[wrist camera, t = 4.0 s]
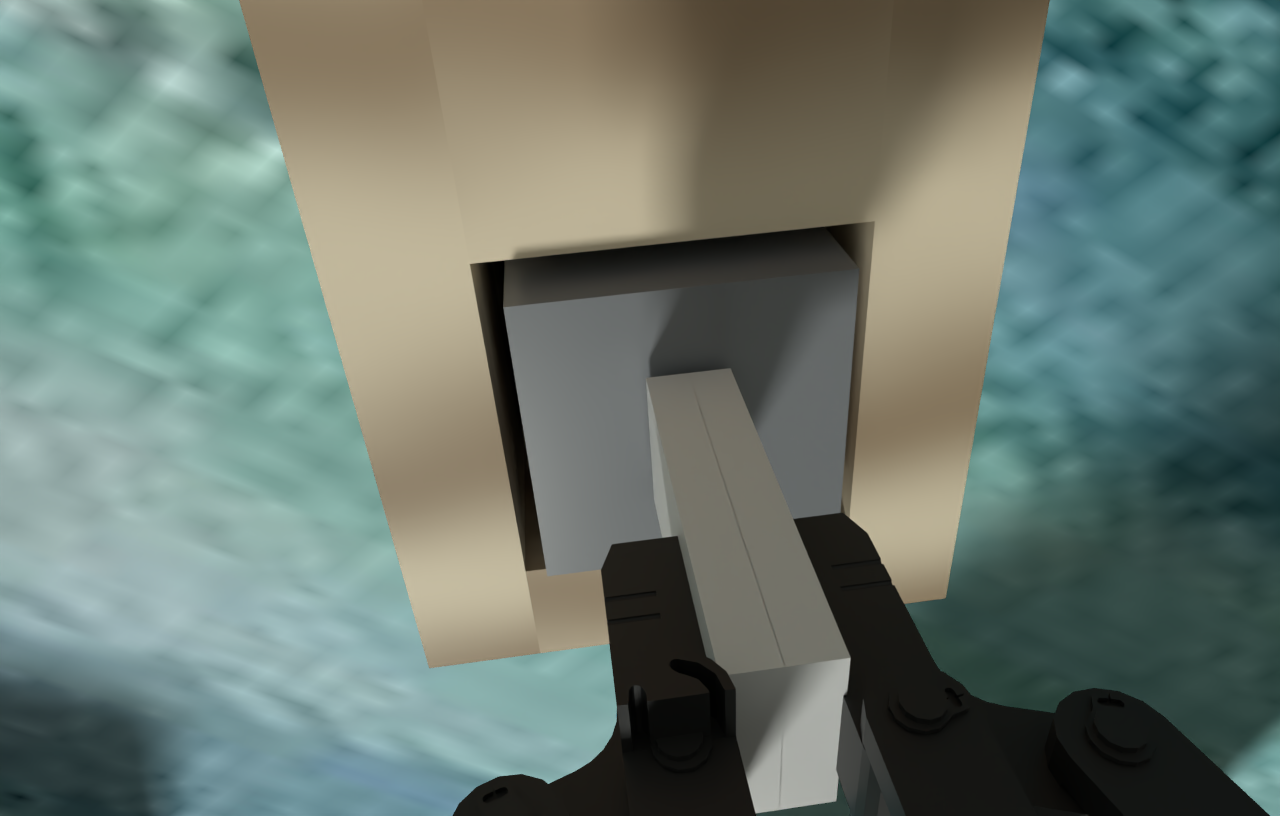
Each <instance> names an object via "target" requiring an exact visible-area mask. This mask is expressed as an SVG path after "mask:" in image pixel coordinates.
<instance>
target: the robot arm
mask: <svg viewBox="0 0 1280 816" xmlns="http://www.w3.org/2000/svg"><path fill="white" fill-rule="evenodd" d="M646 388H647V402H648V417H649V431H650V446H651V461H652V475H653V490H654V501H655V506H656V511H657V515H658V520H659V525H660V529H661V534H662V538H657V539H649V540H641V541H633V542H625V543H618V544H612V545H611V547H610V550H609V552H608V554H607V557H606V559H605V562H604V564H603V566H602V569H601V575H602V584H603V592H604V601H605V609H606V618H607V626H608V635H609V643H610V652H611V660H612V669H613V677H614V686H615V694H616V702H617V722H616V725H615V728H614V732H613V735H612V737H611V739H610V740H609V742H608V743H607V745H606V746H605V748H604V750H603V751H602V752H600V753H599V754H598V755H597V756H596V757H595V758H594V759H593V760H592V761H591V762H590V763H588V764H586V765H585V766H583V767H582V768H580V769H578V770H577V771H575V772H573V773H571V774H569V775H566V776H564V777H562V778H560V779H558V780H556V781H554V782H552V783H550V784H547V783H546V782H545V781H544V780H542V779H538V778H534V777H530V776H527V775H523V774H519V775H509V776H500V777H497V778H495V779H493V780H491V781H488V782H486V783H484V784H482V785H480V786H478V787H476V788H475V789H474V790H473V791H472V792H471V793H470V794H469V795H468V796H467V797H466V798H465V799H464V800H462V801H461V802H460V803H459V805H458V807H457V809H456V810H455V812H454V814H453V816H756V813H762V812H769V811H775V810H782V809H788V808H795V807H802V806H808V805H815V804H822V803H828V802H835V801H836V798H837V788H838V778H839V780H840V783H841V786H842V788H843V791H844V794H845V797H846V800H847V803H848V806H849V808H850V816H1270V815H1269V814H1268V813H1266V812H1265V811H1264V810H1263V809H1262V808H1261V807H1260V806H1259V805H1258V804H1257V803H1256V802H1255V801H1254V800H1253V799H1252V798H1250V797H1249V796H1248V795H1247V794H1246V793H1245V792H1244V791H1243V790H1242V789H1241V788H1240V787H1239V786H1238V785H1237V784H1235V783H1234V782H1233V781H1232V780H1231V779H1230V778H1229V777H1228V776H1227V775H1226V774H1225V773H1224V772H1223V771H1222V770H1221V769H1219V768H1218V767H1217V766H1216V765H1215V764H1214V763H1213V762H1212V761H1211V760H1210V759H1209V758H1208V757H1207V756H1206V755H1204V754H1203V753H1202V752H1201V751H1200V750H1199V749H1198V748H1197V747H1196V746H1195V745H1194V744H1193V743H1192V742H1191V741H1190V740H1188V739H1187V738H1186V737H1185V736H1184V735H1183V734H1182V733H1181V732H1180V731H1179V730H1178V729H1177V728H1176V727H1175V726H1173V725H1172V724H1171V723H1170V722H1169V721H1168V720H1167V719H1166V718H1165V717H1164V716H1162V715H1161V714H1160V713H1158V712H1157V711H1155V710H1154V709H1153V708H1151V707H1150V706H1149V705H1147V704H1146V703H1144V702H1143V701H1141V700H1138V699H1136V698H1133V697H1131V696H1129V695H1126V694H1124V693H1121V692H1119V691H1112V690H1105V689H1097V688H1092V689H1086V690H1081V691H1076V692H1073V693H1071V694H1070V695H1069V696H1067V697H1066V698H1065V699H1063V700H1062V701H1060V702H1059V705H1058V707H1057V710H1056V713H1050V712H1043V711H1035V710H1028V709H1021V708H1014V707H1007V706H1002V705H998V704H993V703H989V702H986V701H984V700H981V699H979V698H976V697H974V696H972V695H970V693H969V692H968V691H967V690H966V688H965V687H964V686H963V685H962V684H961V683H959V682H958V681H956V680H955V679H953V678H952V677H950V676H949V675H947V674H946V673H944V672H941V671H940V669H939V668H938V667H937V665H936V664H935V662H934V661H933V659H932V657H931V655H930V653H929V651H928V649H927V647H926V645H925V643H924V641H923V639H922V637H921V636H920V634H919V632H918V630H917V628H916V626H915V624H914V622H913V620H912V618H911V616H910V614H909V612H908V610H907V608H906V606H905V605H904V603H903V601H902V599H901V597H900V595H899V593H898V591H897V589H896V587H895V585H892V579H891V577H890V575H889V573H888V572H887V570H886V568H885V566H884V564H882V563H881V558H880V556H879V554H878V552H877V550H876V548H875V546H874V544H873V542H872V541H871V539H870V537H869V535H868V533H867V532H866V531H864V530H863V529H862V528H861V527H860V526H858V525H857V524H856V523H855V522H854V521H852V520H851V519H850V518H849V517H848V516H846V515H845V514H844V513H835V514H827V515H819V516H812V517H804V518H796V519H793V518H792V515H791V513H790V510H789V508H788V506H787V503H786V501H785V498H784V496H783V494H782V491H781V489H780V486H779V484H778V481H777V479H776V477H775V474H774V472H773V469H772V467H771V465H770V462H769V460H768V457H767V455H766V453H765V450H764V448H763V445H762V443H761V441H760V438H759V436H758V433H757V431H756V428H755V426H754V424H753V421H752V419H751V416H750V414H749V412H748V409H747V407H746V404H745V402H744V400H743V397H742V395H741V392H740V390H739V388H738V385H737V383H736V380H735V378H734V375H733V373H732V371H731V368H727V369H719V370H710V371H701V372H693V373H684V374H676V375H667V376H658V377H650V378H646Z"/></svg>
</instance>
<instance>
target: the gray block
mask: <svg viewBox="0 0 1280 816" xmlns="http://www.w3.org/2000/svg"><path fill="white" fill-rule="evenodd" d="M858 280H859V267H858V266H857V265H856V264H855V263H854V261H853V260H852V259H851V258H850V257H849V255H848V254H847V253H846V252H845V251H844V249H843V248H842V247H841V246H840V245H839V243H838V242H837V241H836V240H835V239H834V237H833V236H832V235H831V234H830V233H829V231H828V230H827V229H826V228H825V227H815V228H806V229H796V230H787V231H777V232H768V233H758V234H749V235H739V236H730V237H720V238H711V239H701V240H692V241H682V242H673V243H663V244H654V245H644V246H635V247H625V248H616V249H606V250H597V251H587V252H578V253H569V254H559V255H550V256H540V257H531V258H521V259H512V260H505V269H504V301H503V309H504V315H505V321H506V327H507V333H508V339H509V345H510V351H511V357H512V364H513V370H514V376H515V382H516V388H517V394H518V400H519V406H520V413H521V419H522V425H523V431H524V437H525V443H526V449H527V455H528V461H529V468H530V474H531V480H532V486H533V492H534V498H535V504H536V510H537V516H538V523H539V529H540V535H541V541H542V547H543V553H544V559H545V565H546V571H547V576H554V575H562V574H570V573H578V572H585V571H593V570H601V569H602V566H603V564H604V562H605V559H606V557H607V554H608V552H609V550H610V547H611V545H612V544H618V543H625V542H633V541H641V540H649V539H657V538H662V534H661V529H660V525H659V520H658V515H657V511H656V506H655V501H654V490H653V475H652V461H651V446H650V431H649V417H648V402H647V388H646V378H650V377H658V376H667V375H676V374H684V373H693V372H701V371H710V370H719V369H727V368H731V371H732V373H733V375H734V378H735V380H736V383H737V385H738V388H739V390H740V392H741V395H742V397H743V400H744V402H745V404H746V407H747V409H748V412H749V414H750V416H751V419H752V421H753V424H754V426H755V428H756V431H757V433H758V436H759V438H760V441H761V443H762V445H763V448H764V450H765V453H766V455H767V457H768V460H769V462H770V465H771V467H772V469H773V472H774V474H775V477H776V479H777V481H778V484H779V486H780V489H781V491H782V494H783V496H784V498H785V501H786V503H787V506H788V508H789V510H790V513H791V515H792V518H793V519H796V518H804V517H812V516H819V515H827V514H835V513H840V511H841V498H842V485H843V473H844V460H845V447H846V434H847V421H848V409H849V396H850V383H851V370H852V357H853V344H854V332H855V319H856V306H857V293H858Z"/></svg>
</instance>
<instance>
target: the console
mask: <svg viewBox="0 0 1280 816" xmlns="http://www.w3.org/2000/svg"><path fill="white" fill-rule="evenodd" d="M239 1H240V5H241V8H242V12H243V15H244V19H245V22H246V26H247V29H248V33H249V36H250V40H251V43H252V47H253V50H254V54H255V57H256V61H257V64H258V68H259V71H260V75H261V78H262V82H263V85H264V89H265V92H266V96H267V100H268V103H269V107H270V110H271V114H272V117H273V121H274V124H275V128H276V131H277V135H278V138H279V142H280V145H281V149H282V152H283V156H284V159H285V163H286V166H287V170H288V173H289V177H290V180H291V184H292V187H293V191H294V194H295V198H296V201H297V205H298V208H299V212H300V215H301V219H302V223H303V226H304V230H305V233H306V237H307V240H308V244H309V247H310V251H311V254H312V258H313V261H314V265H315V268H316V272H317V275H318V279H319V282H320V286H321V289H322V293H323V296H324V300H325V303H326V307H327V310H328V314H329V317H330V321H331V324H332V328H333V331H334V335H335V338H336V342H337V346H338V349H339V353H340V356H341V360H342V363H343V367H344V370H345V374H346V377H347V381H348V384H349V388H350V391H351V395H352V398H353V402H354V405H355V409H356V412H357V416H358V419H359V423H360V426H361V430H362V433H363V437H364V440H365V444H366V447H367V451H368V454H369V458H370V461H371V465H372V469H373V472H374V476H375V479H376V483H377V486H378V490H379V493H380V497H381V500H382V504H383V507H384V511H385V514H386V518H387V521H388V525H389V528H390V532H391V535H392V539H393V542H394V546H395V549H396V553H397V556H398V560H399V563H400V567H401V570H402V574H403V577H404V581H405V585H406V588H407V592H408V595H409V599H410V602H411V606H412V609H413V613H414V616H415V620H416V623H417V627H418V630H419V634H420V637H421V641H422V644H423V648H424V651H425V655H426V658H427V662H428V665H429V668H434V667H441V666H449V665H456V664H464V663H471V662H478V661H486V660H493V659H500V658H508V657H515V656H523V655H530V654H537V653H545V652H552V651H560V650H567V649H574V648H582V647H589V646H597V645H604V644H610V643H609V635H608V626H607V618H606V609H605V601H604V592H603V584H602V575H601V570H593V571H585V572H578V573H570V574H562V575H554V576H547V571H546V565H545V559H544V553H543V547H542V541H541V535H540V529H539V523H538V516H537V510H536V504H535V498H534V492H533V486H532V480H531V474H530V468H529V461H528V455H527V449H526V443H525V437H524V431H523V425H522V419H521V413H520V406H519V400H518V394H517V388H516V382H515V376H514V370H513V364H512V357H511V351H510V345H509V339H508V333H507V327H506V321H505V315H504V309H503V301H504V269H505V261H504V260H512V259H521V258H531V257H540V256H550V255H559V254H569V253H578V252H587V251H597V250H606V249H616V248H625V247H635V246H644V245H654V244H663V243H673V242H682V241H692V240H701V239H711V238H720V237H730V236H739V235H749V234H758V233H768V232H777V231H787V230H796V229H806V228H815V227H825V228H826V229H827V230H828V231H829V233H830V234H831V235H832V236H833V237H834V239H835V240H836V241H837V242H838V243H839V245H840V246H841V247H842V248H843V249H844V251H845V252H846V253H847V254H848V255H849V257H850V258H851V259H852V260H853V261H854V263H855V264H856V265H857V266H858V267H859V280H858V293H857V306H856V319H855V332H854V344H853V357H852V370H851V383H850V396H849V409H848V421H847V434H846V447H845V460H844V473H843V485H842V498H841V511H840V513H844V514H845V515H846V516H848V517H849V518H850V519H851V520H852V521H854V522H855V523H856V524H857V525H858V526H860V527H861V528H862V529H863V530H864V531H866V532H867V533H868V535H869V537H870V539H871V541H872V542H873V544H874V546H875V548H876V550H877V552H878V554H879V556H880V558H881V563H882V564H884V566H885V568H886V570H887V572H888V573H889V575H890V577H891V579H892V585H895V587H896V589H897V591H898V593H899V595H900V597H901V599H902V601H903V603H904V604H907V603H914V602H922V601H929V600H936V599H944V598H946V594H947V588H948V582H949V576H950V571H951V565H952V559H953V553H954V548H955V542H956V536H957V530H958V525H959V519H960V513H961V507H962V502H963V496H964V490H965V484H966V479H967V473H968V467H969V461H970V455H971V450H972V444H973V438H974V432H975V427H976V421H977V415H978V409H979V404H980V398H981V392H982V386H983V381H984V375H985V369H986V363H987V358H988V352H989V346H990V340H991V335H992V329H993V323H994V317H995V312H996V306H997V300H998V294H999V289H1000V283H1001V277H1002V271H1003V266H1004V260H1005V254H1006V248H1007V243H1008V237H1009V231H1010V225H1011V220H1012V214H1013V208H1014V202H1015V197H1016V191H1017V185H1018V179H1019V174H1020V168H1021V162H1022V156H1023V151H1024V145H1025V139H1026V133H1027V128H1028V122H1029V116H1030V110H1031V105H1032V99H1033V93H1034V87H1035V82H1036V76H1037V70H1038V64H1039V59H1040V53H1041V47H1042V41H1043V36H1044V30H1045V24H1046V18H1047V13H1048V7H1049V1H1050V0H239Z"/></svg>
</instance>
